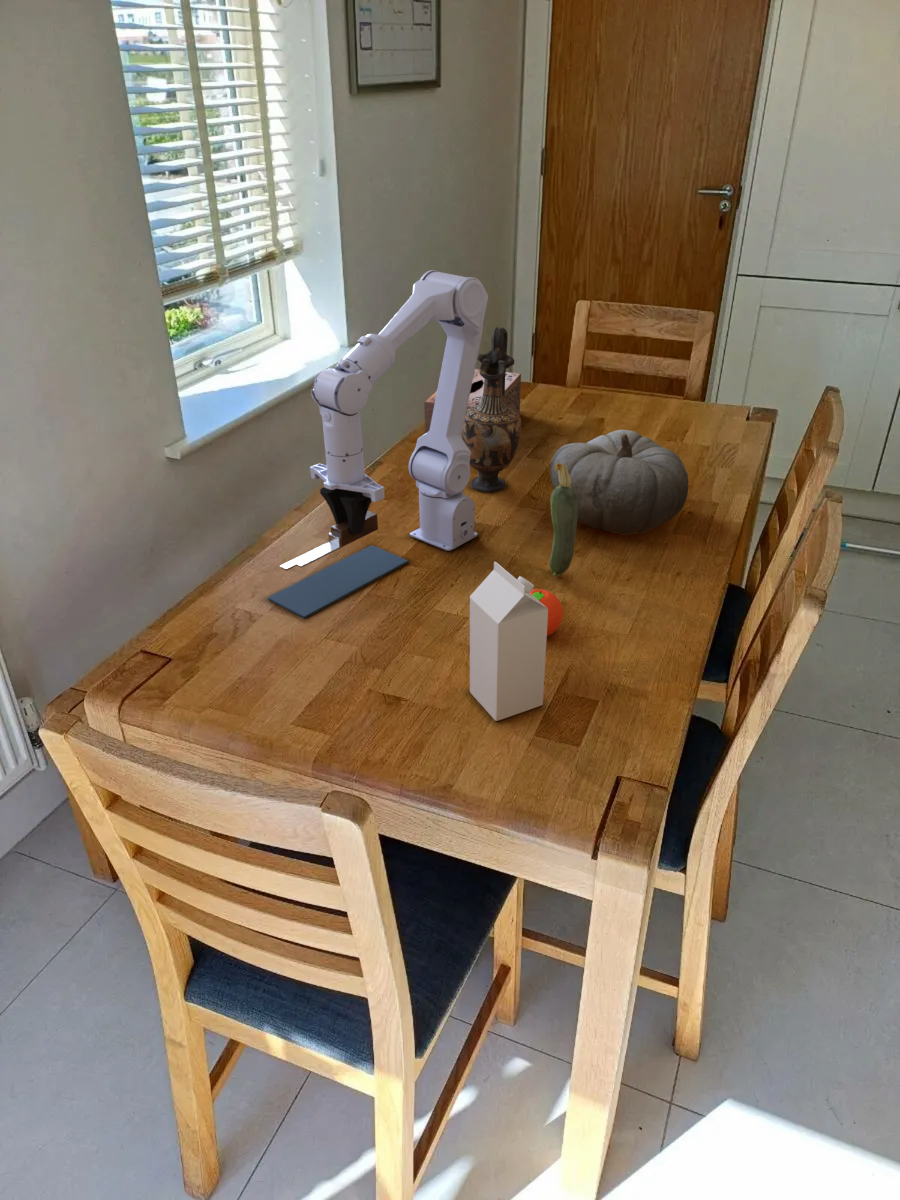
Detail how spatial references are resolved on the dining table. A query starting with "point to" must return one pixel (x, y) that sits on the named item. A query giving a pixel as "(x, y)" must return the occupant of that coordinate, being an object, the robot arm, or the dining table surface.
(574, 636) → the dining table surface
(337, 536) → the knife
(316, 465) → the robot arm
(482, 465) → the vase
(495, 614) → the milk carton
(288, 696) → the dining table surface
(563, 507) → the vegetable
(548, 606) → the clementine
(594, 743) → the dining table surface
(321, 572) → the mat
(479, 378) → the tissue box cover
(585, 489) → the gourd
